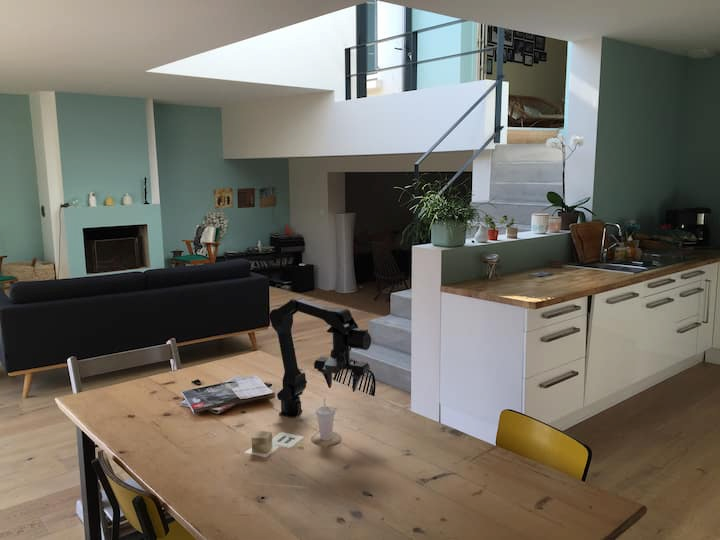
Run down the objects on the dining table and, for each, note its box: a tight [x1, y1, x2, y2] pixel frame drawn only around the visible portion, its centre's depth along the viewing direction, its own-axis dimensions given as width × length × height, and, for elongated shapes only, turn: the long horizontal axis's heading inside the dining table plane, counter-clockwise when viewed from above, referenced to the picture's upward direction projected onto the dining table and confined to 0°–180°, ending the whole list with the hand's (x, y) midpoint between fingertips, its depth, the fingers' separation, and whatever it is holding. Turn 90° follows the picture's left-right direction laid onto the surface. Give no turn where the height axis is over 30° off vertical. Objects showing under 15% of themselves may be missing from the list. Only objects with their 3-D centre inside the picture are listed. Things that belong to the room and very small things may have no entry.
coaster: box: [310, 431, 342, 447], centre depth 198 cm, size 10×10×1 cm
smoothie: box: [315, 397, 336, 440], centre depth 196 cm, size 6×6×14 cm
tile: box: [244, 444, 280, 458], centre depth 190 cm, size 8×8×1 cm
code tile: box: [272, 431, 305, 449], centre depth 197 cm, size 9×9×1 cm
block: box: [251, 430, 273, 454], centre depth 190 cm, size 5×5×5 cm
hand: (341, 389), depth 206 cm, fingers open, 9 cm apart
